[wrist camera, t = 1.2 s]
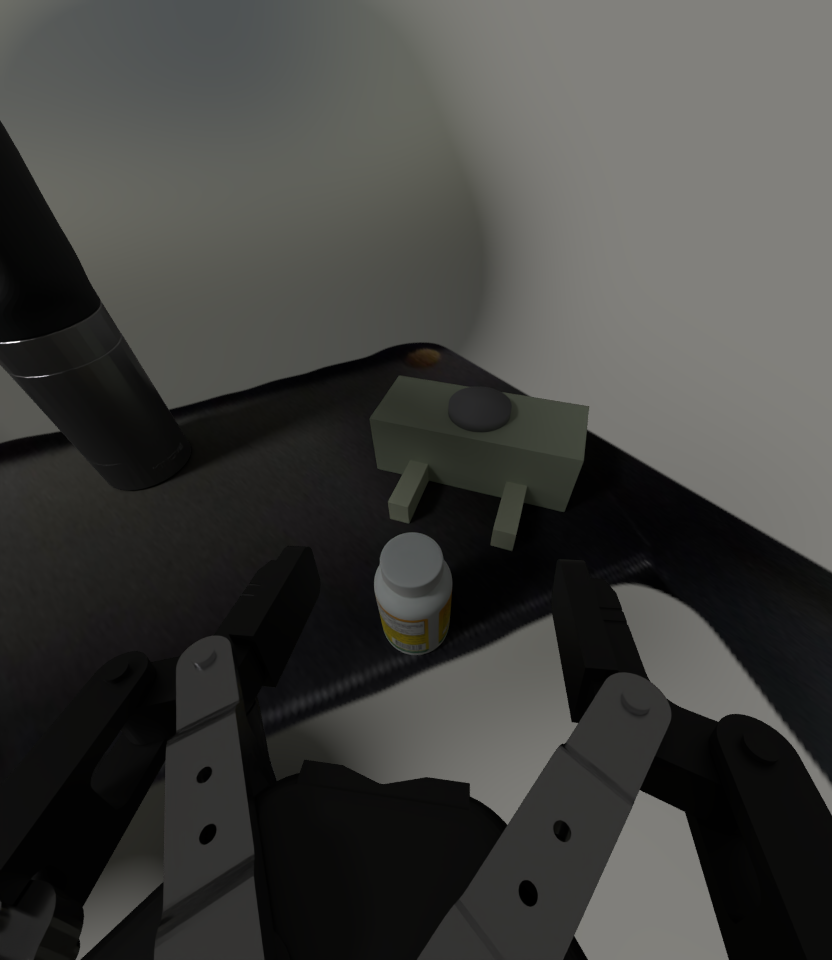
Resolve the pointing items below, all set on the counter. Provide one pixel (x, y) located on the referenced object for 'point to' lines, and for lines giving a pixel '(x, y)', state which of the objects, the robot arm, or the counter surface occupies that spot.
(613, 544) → the counter surface
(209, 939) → the robot arm
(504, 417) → the olive footed block
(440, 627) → the supplement bottle
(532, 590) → the counter surface
